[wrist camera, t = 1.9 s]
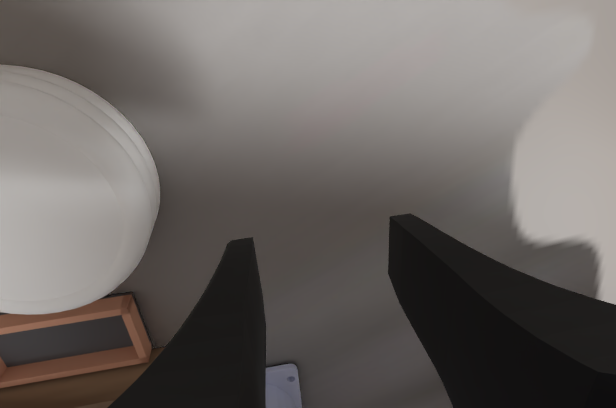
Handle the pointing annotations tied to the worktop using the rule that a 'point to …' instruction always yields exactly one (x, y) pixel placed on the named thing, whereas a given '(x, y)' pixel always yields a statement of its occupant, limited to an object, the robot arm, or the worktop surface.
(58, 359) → the trap pits
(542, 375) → the robot arm
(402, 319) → the worktop surface
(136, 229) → the white stacked discs
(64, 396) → the wooden tray
